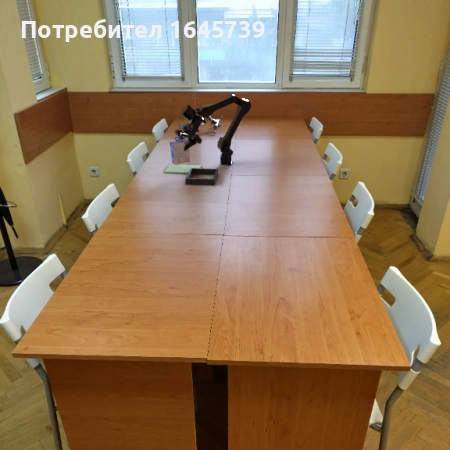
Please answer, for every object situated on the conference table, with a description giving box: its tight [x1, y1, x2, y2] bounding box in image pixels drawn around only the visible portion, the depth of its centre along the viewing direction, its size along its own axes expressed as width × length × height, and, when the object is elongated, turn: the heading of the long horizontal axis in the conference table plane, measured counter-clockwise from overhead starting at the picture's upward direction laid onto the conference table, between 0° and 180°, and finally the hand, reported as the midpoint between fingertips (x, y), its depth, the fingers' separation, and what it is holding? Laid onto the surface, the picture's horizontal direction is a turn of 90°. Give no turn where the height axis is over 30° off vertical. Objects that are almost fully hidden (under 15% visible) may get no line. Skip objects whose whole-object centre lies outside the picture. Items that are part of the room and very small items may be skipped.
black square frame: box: [185, 167, 219, 186], centre depth 254 cm, size 16×18×4 cm
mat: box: [163, 163, 202, 174], centre depth 270 cm, size 20×14×1 cm
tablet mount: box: [201, 116, 224, 135], centre depth 346 cm, size 27×14×17 cm
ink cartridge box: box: [169, 135, 191, 165], centre depth 259 cm, size 10×6×14 cm, turn 123°
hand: (181, 149), depth 259 cm, fingers closed on ink cartridge box, 6 cm apart
